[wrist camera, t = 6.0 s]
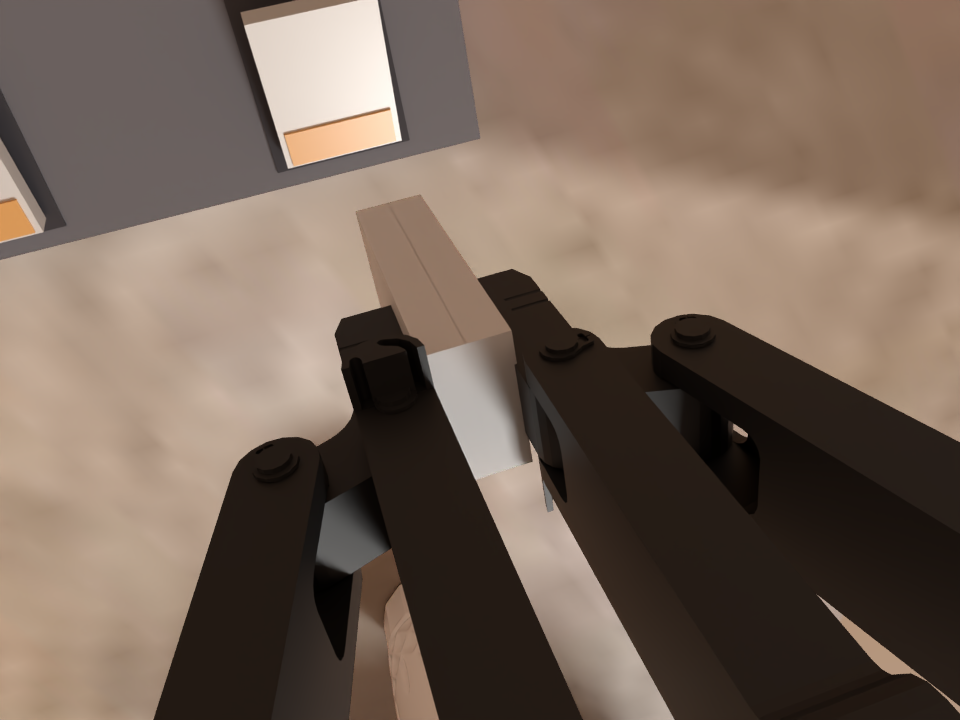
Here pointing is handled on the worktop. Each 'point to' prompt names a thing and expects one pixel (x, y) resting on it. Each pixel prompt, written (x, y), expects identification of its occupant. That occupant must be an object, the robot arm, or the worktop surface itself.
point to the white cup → (406, 663)
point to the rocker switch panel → (187, 107)
